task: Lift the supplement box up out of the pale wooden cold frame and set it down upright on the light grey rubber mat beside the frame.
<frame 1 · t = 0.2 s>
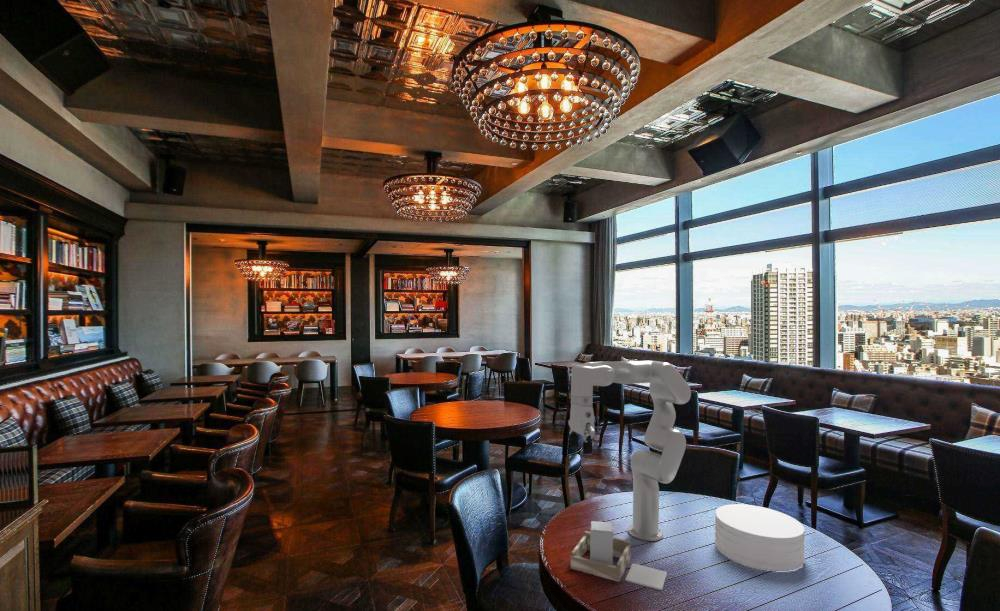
hand: (580, 449, 167), 36 cm above the table, tool pointing down, fingers open, 9 cm apart
mat: (646, 577, 153), on the table
plate stack: (757, 552, 171), on the table
supplement box: (601, 564, 161), resting in cold frame
cold frame: (601, 563, 161), on the table
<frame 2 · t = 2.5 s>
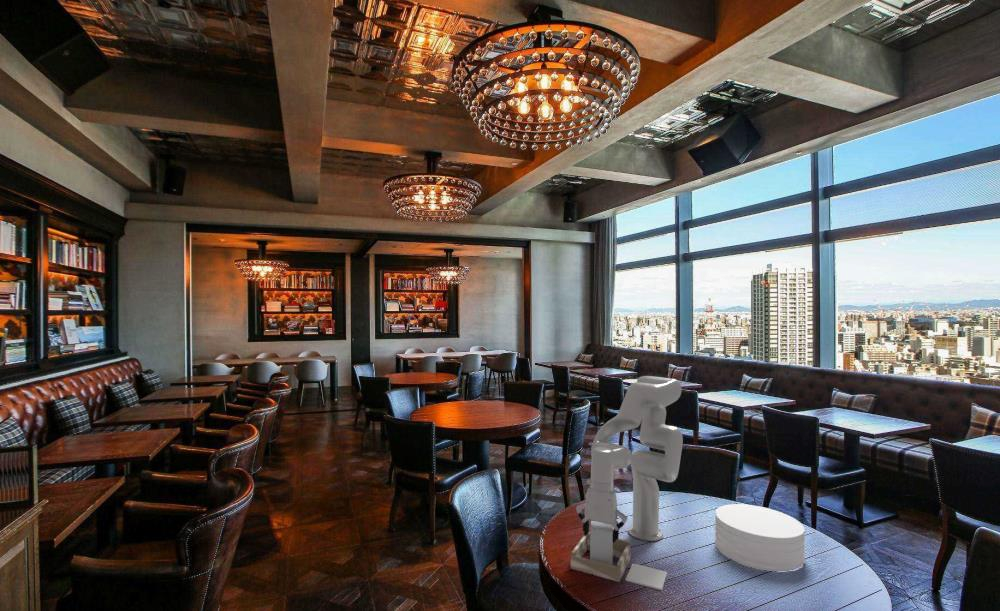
hand: (600, 537, 160), 9 cm above the table, tool pointing down, fingers open, 9 cm apart
nothing on the table moved.
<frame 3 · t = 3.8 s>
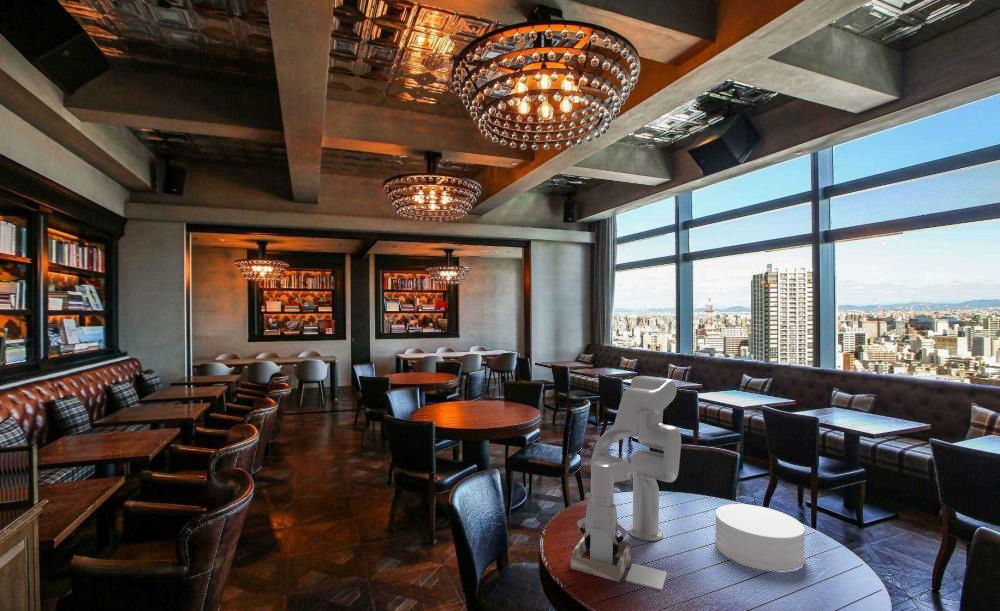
hand: (601, 551, 161), 4 cm above the table, tool pointing down, fingers closed on supplement box, 8 cm apart
supplement box: (601, 564, 161), resting in cold frame, touching gripper
everything else where it was.
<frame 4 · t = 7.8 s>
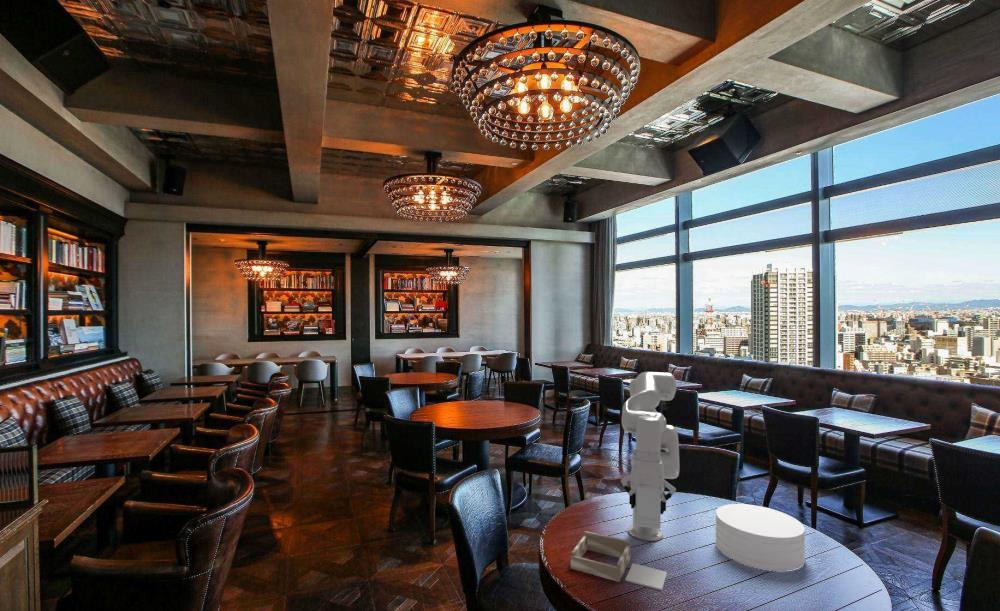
hand: (647, 509, 153), 21 cm above the table, tool pointing down, fingers closed on supplement box, 8 cm apart
supplement box: (647, 523, 153), point 17 cm above the table, touching gripper
everything else where it was.
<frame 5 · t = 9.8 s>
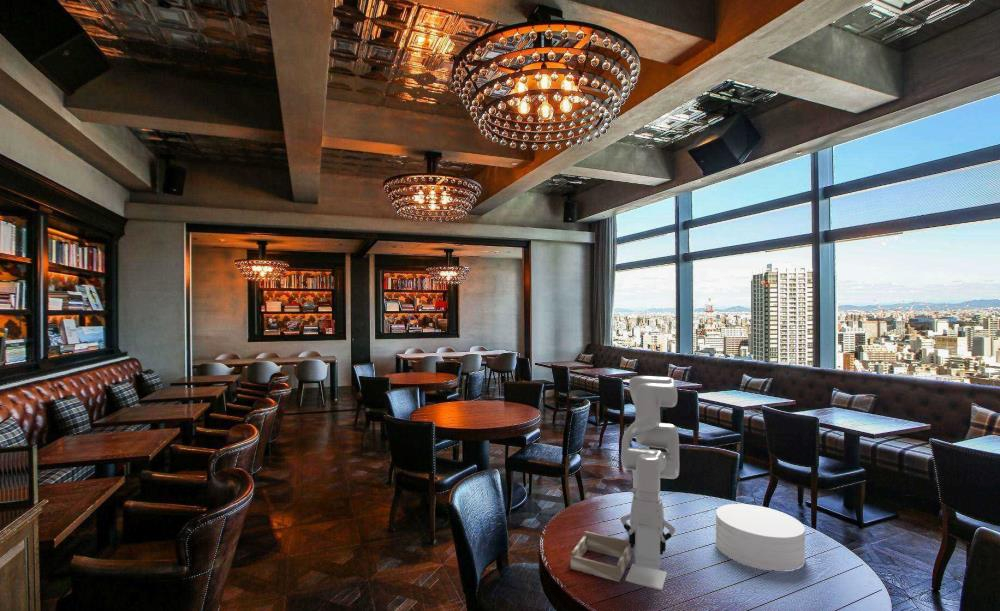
hand: (646, 549, 153), 9 cm above the table, tool pointing down, fingers closed on supplement box, 8 cm apart
supplement box: (646, 563, 153), point 4 cm above the table, touching gripper
everything else where it was.
when the fingers open (6 cm above the table, at t = 11.6 s): supplement box drops 1 cm, resting on mat.
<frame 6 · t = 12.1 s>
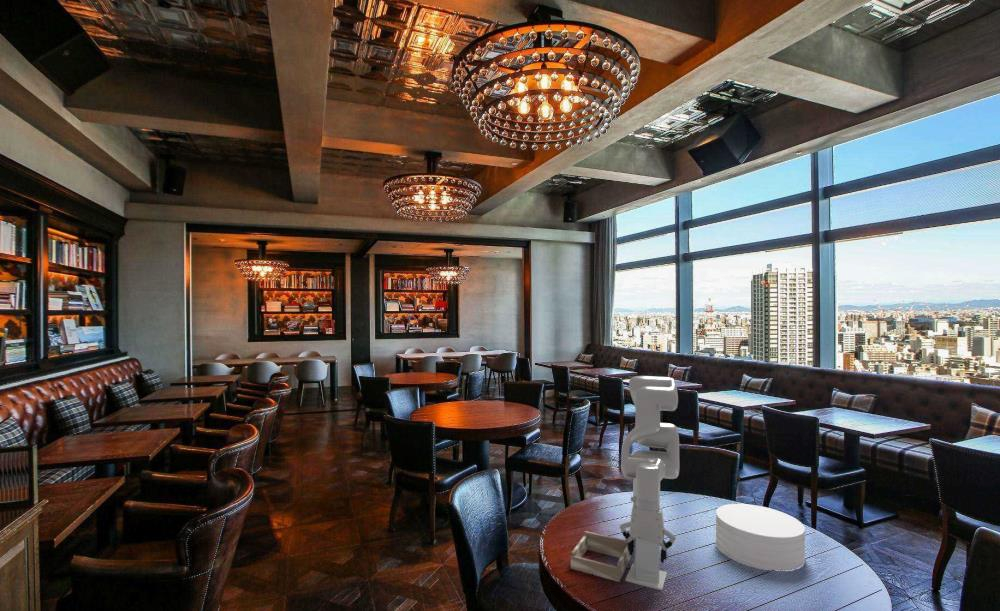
hand: (646, 557, 153), 6 cm above the table, tool pointing down, fingers open, 9 cm apart
supplement box: (646, 575, 153), resting on mat
everything else where it was.
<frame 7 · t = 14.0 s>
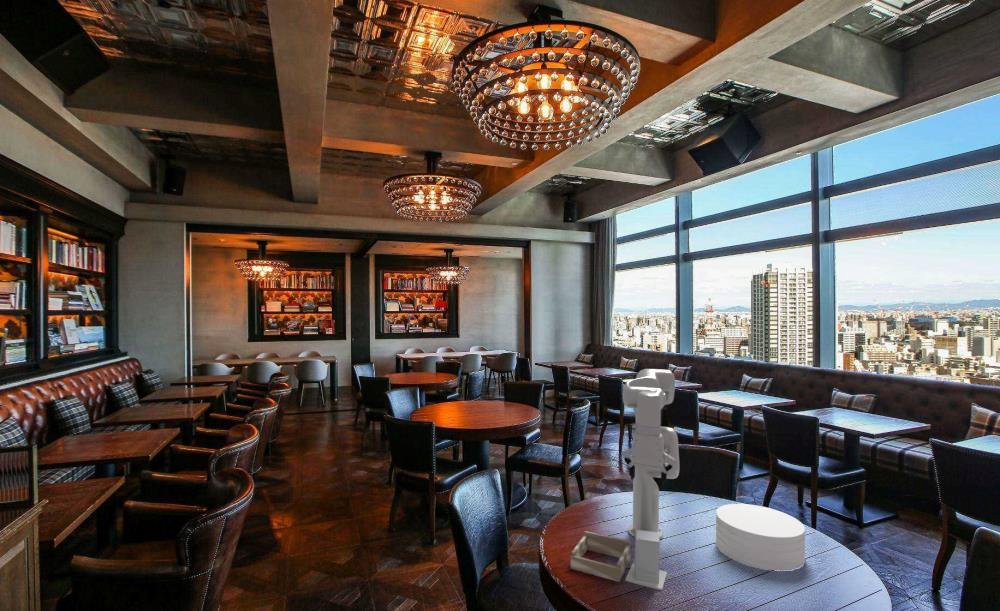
hand: (647, 480, 159), 29 cm above the table, tool pointing down, fingers open, 9 cm apart
nothing on the table moved.
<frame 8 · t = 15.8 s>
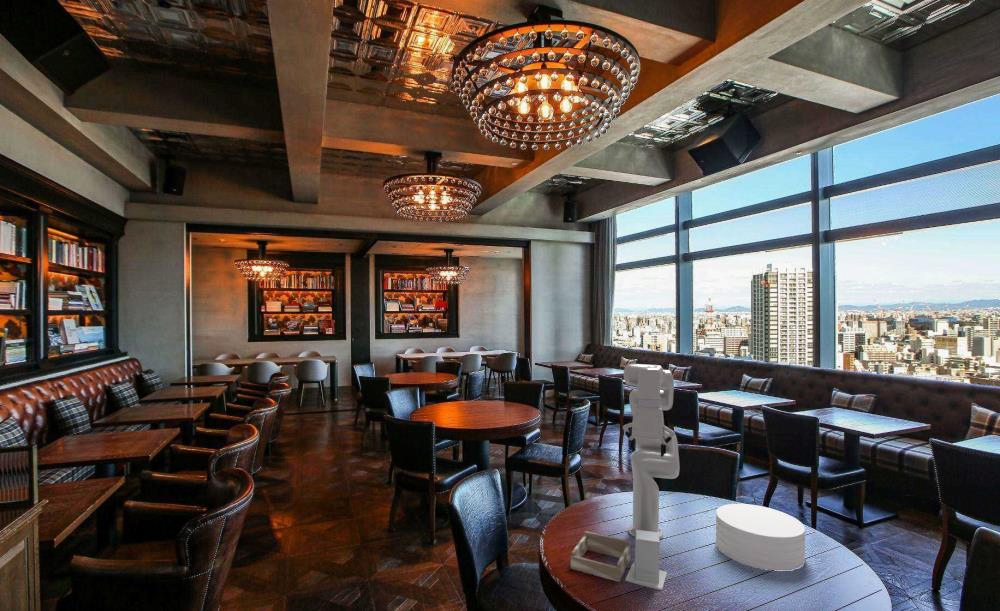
hand: (647, 453, 164), 36 cm above the table, tool pointing down, fingers open, 9 cm apart
nothing on the table moved.
at the end: supplement box inside the target area on the mat (0.2 cm from its centre), point 0.3 cm above the mat's base; supplement box tilted 0°; the gripper is holding nothing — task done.
